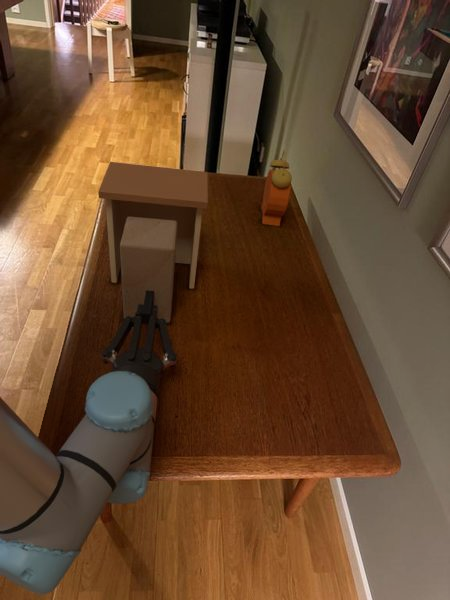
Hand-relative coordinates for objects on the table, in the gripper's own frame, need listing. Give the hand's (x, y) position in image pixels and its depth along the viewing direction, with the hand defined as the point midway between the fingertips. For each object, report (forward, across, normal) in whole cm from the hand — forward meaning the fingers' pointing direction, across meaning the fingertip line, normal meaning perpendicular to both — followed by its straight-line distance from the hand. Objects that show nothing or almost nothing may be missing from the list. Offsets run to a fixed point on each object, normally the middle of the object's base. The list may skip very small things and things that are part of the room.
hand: (149, 295), depth 81 cm
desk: (+17, -1, -8) cm, 19 cm away
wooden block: (+5, -1, -8) cm, 10 cm away
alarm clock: (+50, +32, -8) cm, 60 cm away
